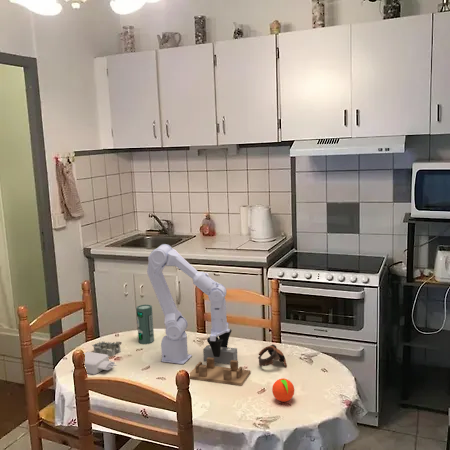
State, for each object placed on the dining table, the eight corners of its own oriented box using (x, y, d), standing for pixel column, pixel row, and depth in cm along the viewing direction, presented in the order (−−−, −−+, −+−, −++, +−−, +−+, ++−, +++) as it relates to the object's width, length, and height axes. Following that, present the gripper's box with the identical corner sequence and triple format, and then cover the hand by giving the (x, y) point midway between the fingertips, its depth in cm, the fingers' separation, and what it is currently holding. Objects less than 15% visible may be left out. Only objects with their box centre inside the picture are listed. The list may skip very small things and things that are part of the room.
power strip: (203, 361, 193) (203, 348, 192) (208, 357, 196) (207, 344, 195) (233, 365, 188) (233, 351, 187) (237, 361, 192) (237, 347, 191)
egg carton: (123, 351, 205) (123, 341, 205) (110, 358, 199) (109, 348, 198) (104, 346, 211) (103, 337, 210) (90, 353, 205) (90, 343, 204)
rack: (187, 378, 179) (186, 366, 178) (198, 366, 188) (197, 355, 187) (241, 385, 172) (241, 373, 171) (250, 373, 181) (250, 361, 180)
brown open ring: (289, 372, 182) (278, 355, 179) (266, 382, 184) (254, 365, 181) (287, 351, 193) (277, 334, 190) (265, 360, 195) (254, 344, 192)
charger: (107, 378, 182) (73, 372, 188) (122, 367, 190) (89, 362, 196) (106, 365, 181) (72, 360, 187) (121, 355, 189) (88, 350, 195)
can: (141, 338, 218) (138, 304, 215) (155, 338, 217) (153, 304, 215) (137, 344, 212) (134, 309, 209) (151, 344, 211) (149, 309, 209)
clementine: (299, 405, 157) (298, 384, 156) (277, 409, 156) (276, 387, 155) (290, 393, 165) (289, 373, 164) (269, 396, 164) (269, 375, 163)
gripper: (222, 325, 182) (223, 361, 184) (235, 312, 195) (236, 346, 197) (203, 323, 184) (205, 359, 186) (218, 310, 197) (219, 344, 199)
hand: (220, 352), depth 192 cm, fingers open, 7 cm apart
